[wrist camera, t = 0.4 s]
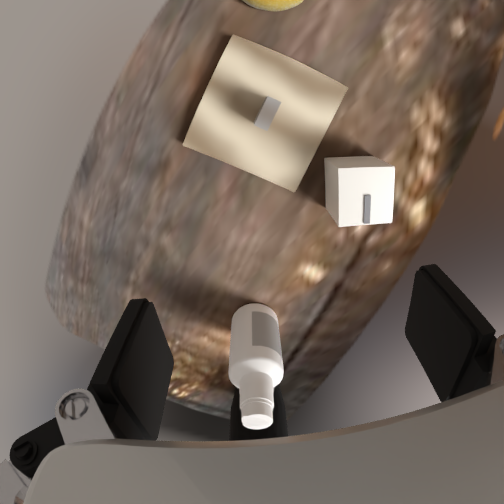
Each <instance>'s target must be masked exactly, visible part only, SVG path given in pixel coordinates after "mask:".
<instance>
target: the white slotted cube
mask: <svg viewBox="0 0 504 504" xmlns="http://www.w3.org/2000/svg"><path fill="white" fill-rule="evenodd" d="M324 166H325V198H326V209H327V210H328V212H329V213H330V215H331V216H332V218H333V219H334V221H335V222H336V224H337V225H338V227H345V226H357V225H369V224H382V223H392V217H393V202H394V179H395V167H394V166H393V165H391V164H389V163H387V162H385V161H383V160H381V159H379V158H376V157H374V156H353V157H328V158H324Z"/></svg>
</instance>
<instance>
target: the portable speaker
mask: <svg viewBox="0 0 504 504" xmlns="http://www.w3.org/2000/svg"><path fill="white" fill-rule="evenodd" d="M273 398H274V408H273V411H272V413H273V423H272V424H271V425H270V426H269V427H267V428H264V429H249V428H246V427H245V426H243V423H242V412H241V409H240V394H239V388H237V387H236V390H235V394H234V398H233V402H232V406H231V419H230V436H229V437H230V438H229V441H241V440H256V439H268V438H279V437H288V431H287V420H286V411H285V405H284V401H283V398H282V394H281V390H280V388H279V384H278V385H277V386H275V387H274V392H273Z"/></svg>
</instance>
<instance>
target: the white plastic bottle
mask: <svg viewBox="0 0 504 504" xmlns="http://www.w3.org/2000/svg"><path fill="white" fill-rule="evenodd" d="M283 373H284V370H283V361H282V352H281V344H280V335H279V327H278V319H277V316H276V314H275V312H274V311H273V310H272V309H271V308H269V307H268V306H266V305H263V304H259V303H251V304H247V305H244V306H242V307H240V308H239V309H238V310H237V311H236V312H235V313H234V315H233V317H232V325H231V340H230V355H229V379H230V381H231V382H232V384H233V385H235V386H236V387H237V388H239V394H240V409H241V412H242V423H243V426H245V427H246V428H249V429H264V428H267V427H269V426H270V425H271V424H272V423H273V413H272V411H273V408H274V398H273V392H274V387H275V386H277V385H278V384H279V383H280V382H281V380H282V379H283Z"/></svg>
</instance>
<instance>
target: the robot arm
mask: <svg viewBox="0 0 504 504" xmlns="http://www.w3.org/2000/svg"><path fill="white" fill-rule="evenodd" d="M495 332H496V331H495V329H494V328H493V327H492V326H491V324H490V323H489V322H488V321H487V320H486V318H485V317H484V316H483V315H482V314H481V313H480V311H479V310H478V309H477V308H476V307H475V306H474V305H473V303H472V302H471V301H470V300H469V299H468V298H467V297H466V296H465V294H464V293H463V292H462V291H461V290H460V289H459V288H458V287H457V286H456V285H455V284H454V283H453V282H452V281H451V280H450V278H448V276H447V275H446V274H445V273H444V272H443V271H442V270H441V269H440V268H439V267H438V266H437V265H436V264H431V265H425V266H421V267H420V269H419V271H417V272H416V274H415V279H414V285H413V291H412V297H411V303H410V307H409V313H408V317H407V322H406V327H405V335H406V338H407V339H408V341H409V343H410V345H411V347H412V348H413V350H414V352H415V353H416V356H417V357H418V359H419V361H420V363H421V365H422V366H423V368H424V370H425V372H426V374H427V376H428V378H429V380H430V382H431V383H432V385H433V387H434V389H435V391H436V393H437V395H438V397H439V399H440V401H441V403H438V404H435V405H432V406H429V407H426V408H423V409H419V410H416V411H413V412H409V413H406V414H402V415H398V416H395V417H391V418H387V419H383V420H379V421H375V422H370V423H366V424H361V425H356V426H352V427H347V428H341V429H336V430H330V431H324V432H318V433H311V434H304V435H296V436H288V437H279V438H268V439H256V440H241V441H215V442H214V441H210V442H192V441H191V442H189V441H156V440H157V438H158V434H159V429H160V424H161V419H162V415H163V410H164V405H165V401H166V396H167V392H168V388H169V383H170V379H171V375H172V370H173V366H174V360H173V356H172V353H171V351H170V348H169V346H168V343H167V340H166V338H165V335H164V332H163V329H162V327H161V324H160V321H159V318H158V315H157V313H156V310H155V307H154V304H153V303H152V302H149V301H148V300H147V299H146V298H144V299H132V300H130V301H129V303H128V305H127V307H126V309H125V311H124V313H123V315H122V317H121V319H120V321H119V323H118V325H117V327H116V329H115V331H114V333H113V335H112V337H111V339H110V341H109V343H108V345H107V347H106V349H105V351H104V353H103V355H102V358H101V360H100V362H99V364H98V366H97V368H96V370H95V373H94V375H93V377H92V380H91V381H90V384H89V386H88V389H87V390H85V389H73V390H70V391H68V392H67V393H65V394H64V395H62V396H61V398H60V399H59V400H58V402H57V404H56V406H55V416H56V417H55V418H53V419H52V420H50V421H48V422H46V423H45V424H43V425H41V426H39V427H38V428H36V429H34V430H32V431H30V432H29V433H27V434H25V435H23V436H21V437H20V438H19V439H17V440H16V441H15V442H14V443H13V445H12V447H11V450H10V460H9V461H7V460H6V459H5V460H4V461H3V462H2V463H1V464H0V504H504V334H503V335H501V336H499V337H498V338H496V337H495V336H494V334H495Z"/></svg>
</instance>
